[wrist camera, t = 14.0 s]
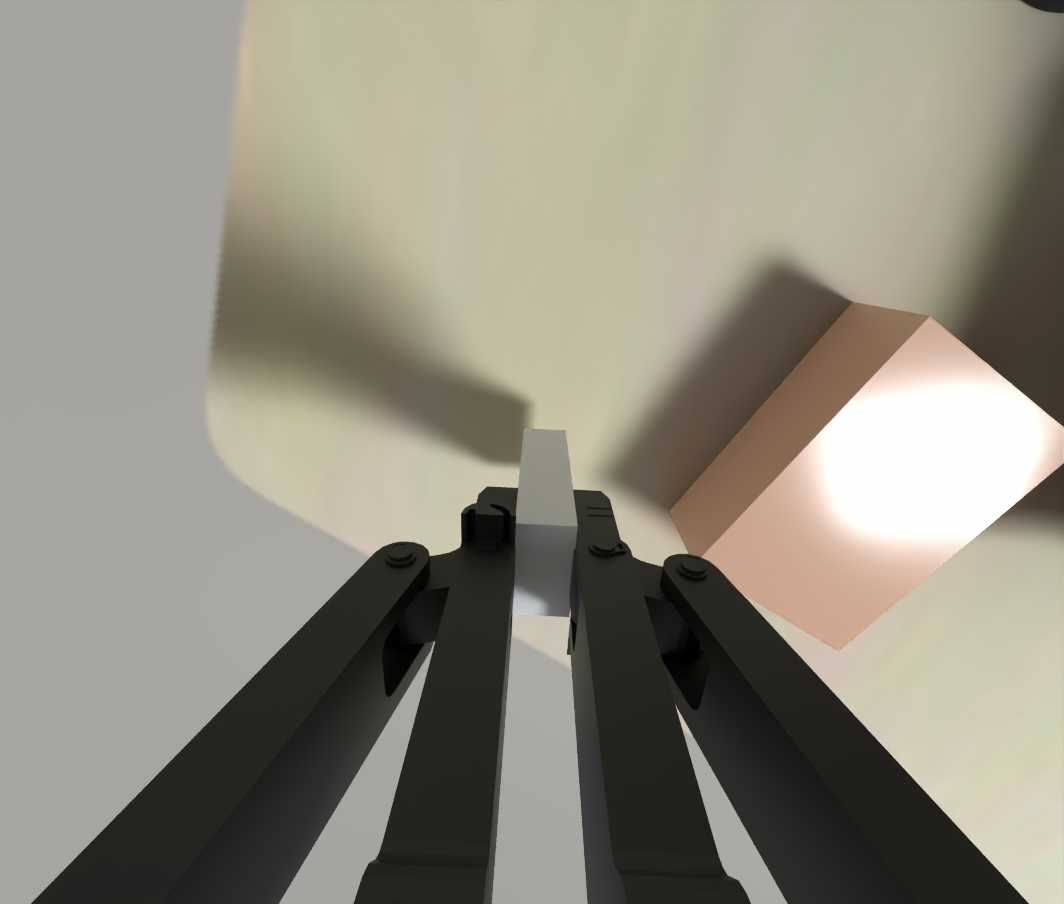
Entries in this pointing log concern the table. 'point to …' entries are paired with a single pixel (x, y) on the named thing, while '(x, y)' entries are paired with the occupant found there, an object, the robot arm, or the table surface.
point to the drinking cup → (1048, 5)
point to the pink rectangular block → (866, 472)
